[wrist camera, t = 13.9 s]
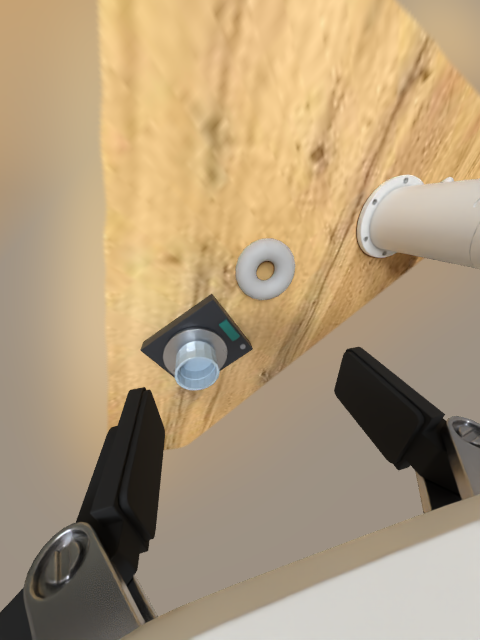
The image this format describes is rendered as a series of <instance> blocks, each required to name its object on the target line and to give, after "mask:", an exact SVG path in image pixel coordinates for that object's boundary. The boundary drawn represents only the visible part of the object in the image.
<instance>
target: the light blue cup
mask: <svg viewBox="0 0 480 640" xmlns="http://www.w3.org/2000/svg"><path fill="white" fill-rule="evenodd" d="M219 372H220V371H219V366H218V361H217V356H216V352H215V350H214V349H213V348H212V347H211V346H210V345H209V344H207V343H205V342H201V341H194V342H190V343H187V344H185V345H184V346H183V347H182V348H181V349H180V350H179V351H178V353H177V355H176V364H175V379H176V382H177V383H178V384H179V385H180V386H181V387H182V388H185V389H188V390H202V389H205V388H208V387H209V386H211V385H212V384H214V383H215V381H216V380H217V379H218V376H219Z"/></svg>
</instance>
